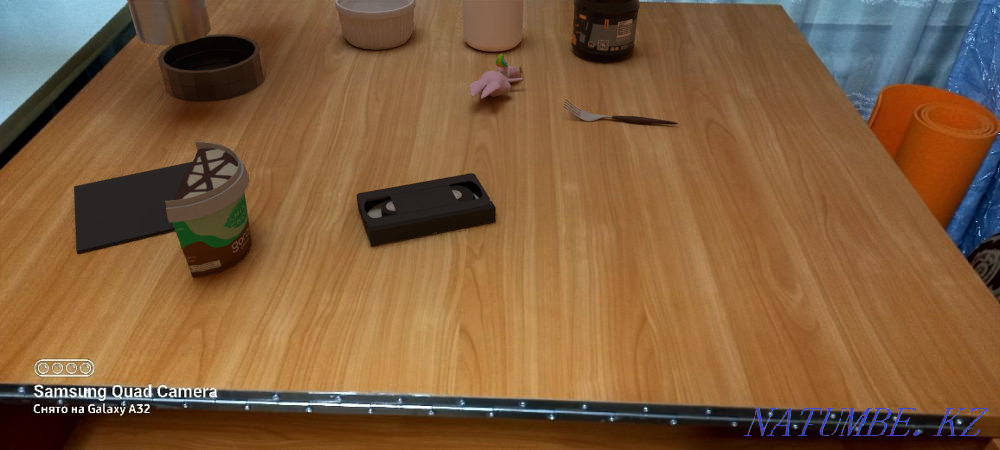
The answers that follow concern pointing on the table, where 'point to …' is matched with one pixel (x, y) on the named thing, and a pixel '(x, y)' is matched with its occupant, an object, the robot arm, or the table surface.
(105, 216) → the mat
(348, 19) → the ramekin
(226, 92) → the shallow dark brown bowl
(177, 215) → the food container
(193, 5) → the small pot
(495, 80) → the rabbit figure
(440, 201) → the vhs tape
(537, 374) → the table surface
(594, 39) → the supplement container
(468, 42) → the cup
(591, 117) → the fork
